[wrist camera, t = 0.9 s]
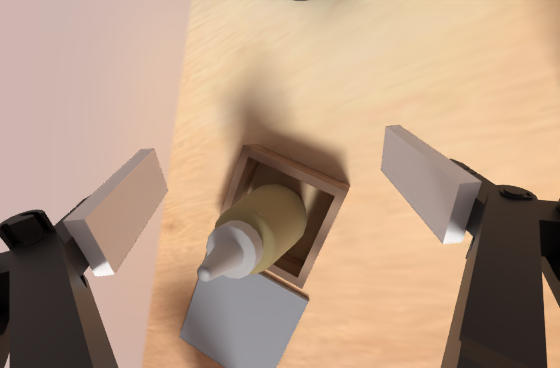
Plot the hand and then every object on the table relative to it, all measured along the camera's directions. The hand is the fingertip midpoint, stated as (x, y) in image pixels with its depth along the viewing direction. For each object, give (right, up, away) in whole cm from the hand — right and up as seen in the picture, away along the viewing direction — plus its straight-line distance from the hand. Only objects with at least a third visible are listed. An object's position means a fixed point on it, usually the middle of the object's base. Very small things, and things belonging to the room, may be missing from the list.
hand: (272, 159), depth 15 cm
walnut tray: (+1, -5, +20) cm, 20 cm away
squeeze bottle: (+1, -5, +20) cm, 21 cm away
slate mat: (-6, -22, +25) cm, 34 cm away
